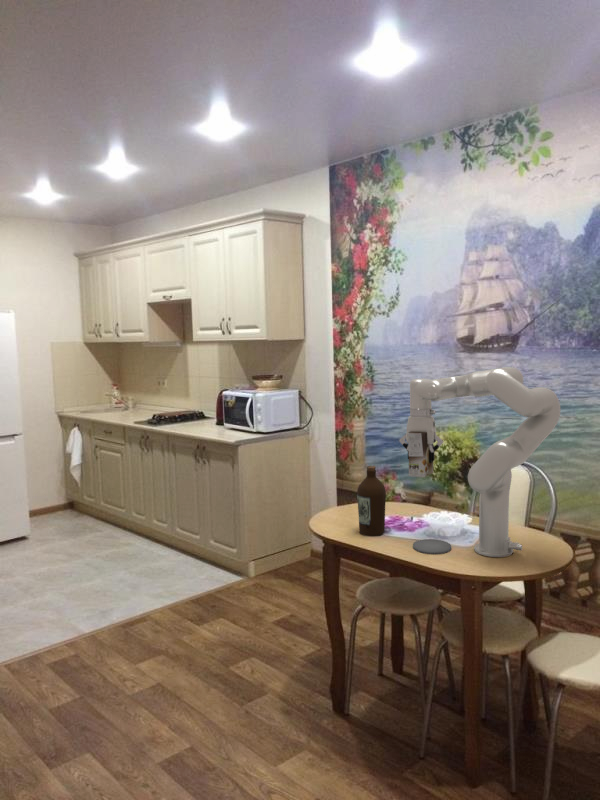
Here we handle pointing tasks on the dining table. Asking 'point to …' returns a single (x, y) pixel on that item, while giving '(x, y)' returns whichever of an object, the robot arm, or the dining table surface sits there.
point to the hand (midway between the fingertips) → (421, 461)
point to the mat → (432, 546)
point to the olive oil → (371, 504)
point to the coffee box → (419, 455)
